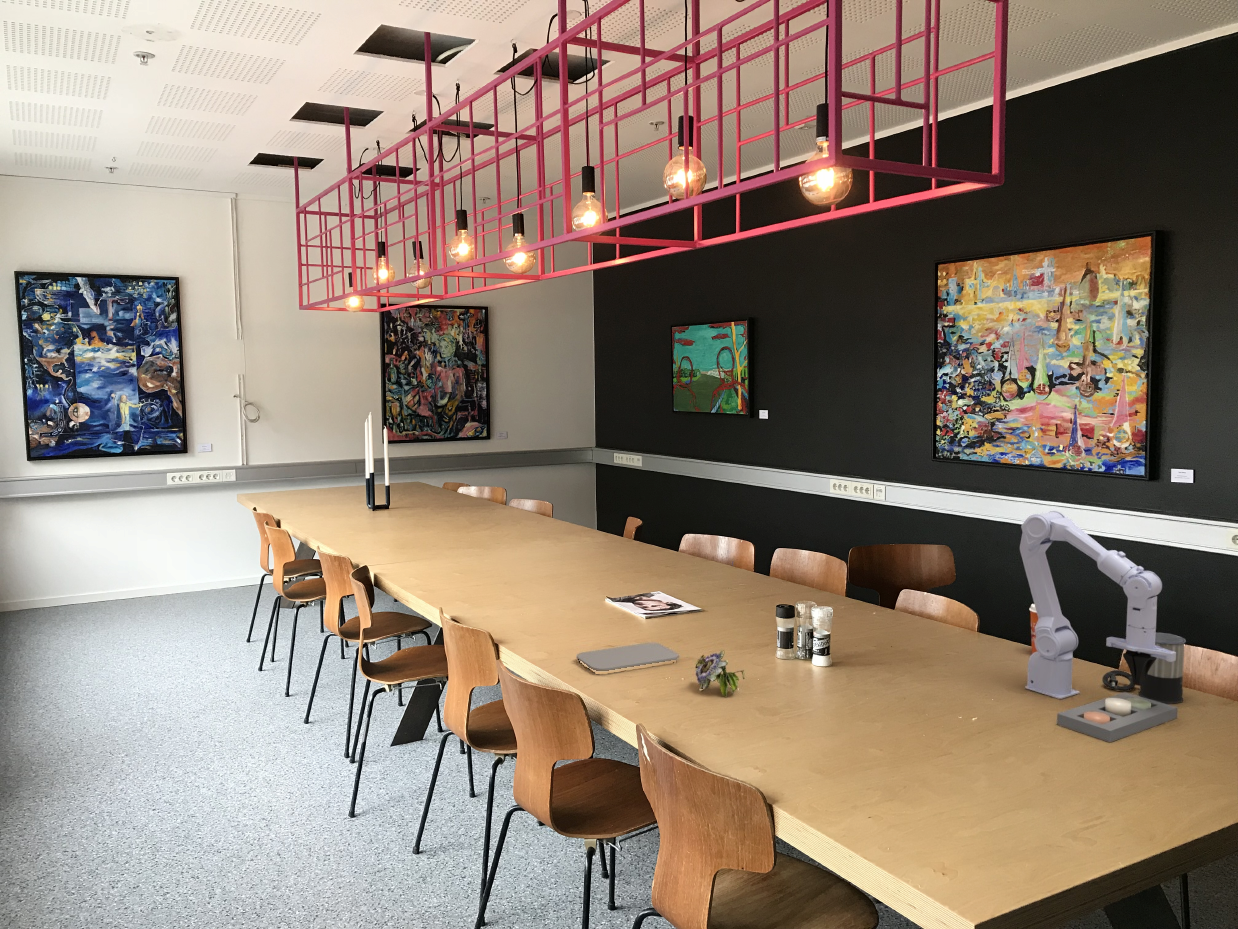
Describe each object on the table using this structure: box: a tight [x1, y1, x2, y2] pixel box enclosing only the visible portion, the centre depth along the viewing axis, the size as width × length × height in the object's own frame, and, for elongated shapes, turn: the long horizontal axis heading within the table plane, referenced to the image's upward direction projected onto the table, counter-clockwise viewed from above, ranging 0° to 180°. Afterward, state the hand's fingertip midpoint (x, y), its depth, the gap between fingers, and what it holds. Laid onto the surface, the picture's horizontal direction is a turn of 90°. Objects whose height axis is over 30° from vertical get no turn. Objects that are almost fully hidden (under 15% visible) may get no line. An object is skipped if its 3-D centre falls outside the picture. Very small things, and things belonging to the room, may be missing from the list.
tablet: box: [576, 642, 680, 671], centre depth 248 cm, size 16×26×2 cm, turn 115°
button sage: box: [1126, 698, 1151, 710], centre depth 204 cm, size 5×5×3 cm
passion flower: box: [694, 649, 746, 697], centre depth 224 cm, size 11×11×12 cm
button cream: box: [1105, 697, 1131, 717], centre depth 200 cm, size 5×5×3 cm
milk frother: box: [1102, 632, 1187, 705], centre depth 217 cm, size 14×16×15 cm
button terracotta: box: [1084, 711, 1110, 724], centre depth 196 cm, size 5×5×3 cm
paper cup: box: [1029, 603, 1038, 655], centre depth 249 cm, size 8×8×14 cm
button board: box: [1056, 691, 1179, 743], centre depth 200 cm, size 12×26×2 cm, turn 121°
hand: (1138, 684), depth 204 cm, fingers closed
